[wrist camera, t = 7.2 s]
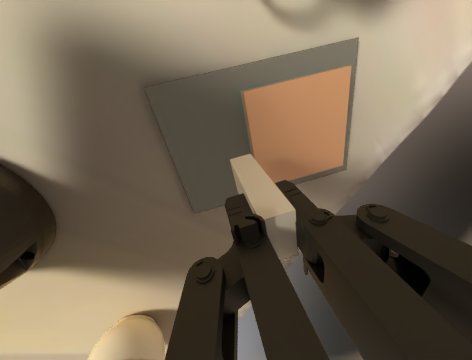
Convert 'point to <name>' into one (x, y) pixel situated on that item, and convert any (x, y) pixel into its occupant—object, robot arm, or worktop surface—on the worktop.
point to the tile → (298, 123)
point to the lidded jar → (131, 341)
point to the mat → (231, 117)
